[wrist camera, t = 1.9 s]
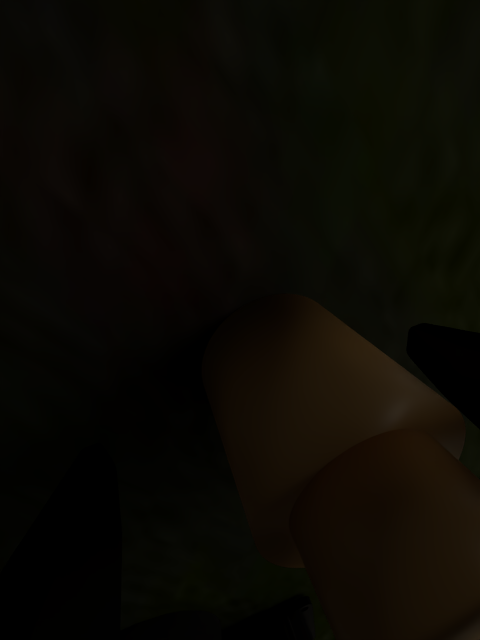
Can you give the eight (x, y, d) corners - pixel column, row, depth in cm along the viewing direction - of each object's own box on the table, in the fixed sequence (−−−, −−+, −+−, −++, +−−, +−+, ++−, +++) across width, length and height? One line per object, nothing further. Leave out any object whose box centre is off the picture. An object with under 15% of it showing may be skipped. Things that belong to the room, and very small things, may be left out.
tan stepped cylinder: (335, 389, 11) (537, 615, 6) (217, 433, 10) (318, 752, 5) (335, 275, 9) (674, 464, 3) (184, 320, 8) (304, 672, 2)
